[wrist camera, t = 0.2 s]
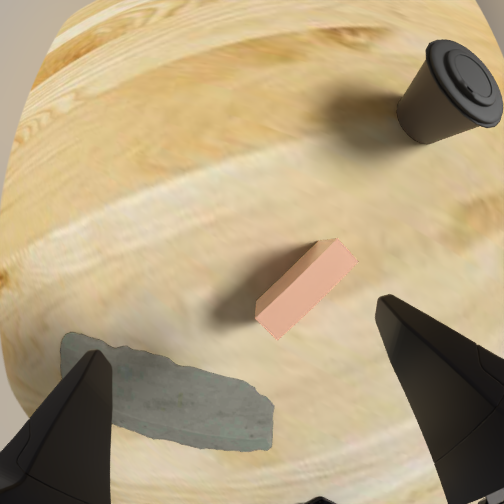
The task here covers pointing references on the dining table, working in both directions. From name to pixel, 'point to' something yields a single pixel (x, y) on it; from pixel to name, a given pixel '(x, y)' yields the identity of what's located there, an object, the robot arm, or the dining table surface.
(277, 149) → the dining table surface
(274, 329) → the block
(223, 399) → the stone slab
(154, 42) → the dining table surface
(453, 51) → the coffee cup
